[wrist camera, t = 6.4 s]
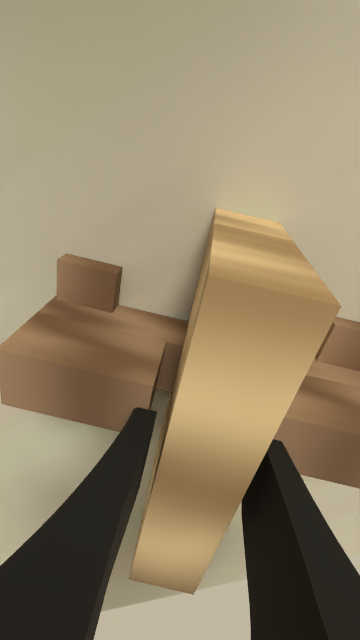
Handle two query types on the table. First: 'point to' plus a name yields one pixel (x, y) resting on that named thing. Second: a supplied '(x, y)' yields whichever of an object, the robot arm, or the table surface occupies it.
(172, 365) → the walnut rail
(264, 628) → the robot arm
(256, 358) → the tan tapered flat block
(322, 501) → the table surface
